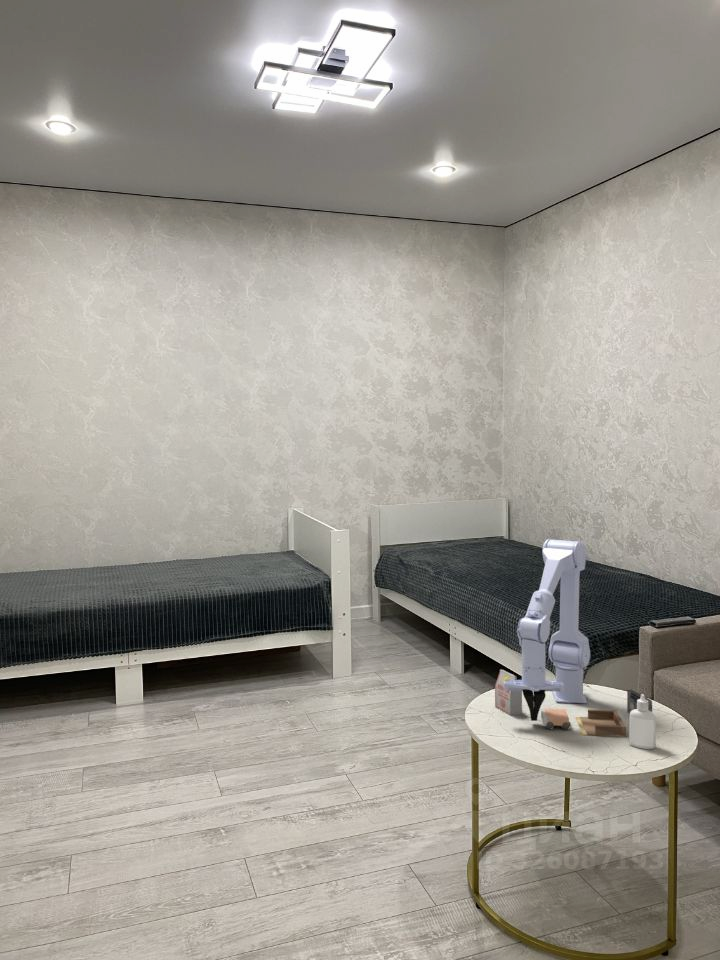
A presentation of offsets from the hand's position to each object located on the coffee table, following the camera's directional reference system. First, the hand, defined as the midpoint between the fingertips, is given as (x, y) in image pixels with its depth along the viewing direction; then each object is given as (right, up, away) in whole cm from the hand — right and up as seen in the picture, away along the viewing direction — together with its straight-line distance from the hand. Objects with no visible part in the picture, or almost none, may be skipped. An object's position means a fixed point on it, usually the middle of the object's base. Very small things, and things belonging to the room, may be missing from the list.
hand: (533, 719), depth 185 cm
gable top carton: (-4, -1, +10) cm, 11 cm away
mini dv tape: (+28, -1, +3) cm, 28 cm away
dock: (+16, -1, -2) cm, 16 cm away
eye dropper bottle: (+22, -2, -13) cm, 26 cm away
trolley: (+5, -1, -1) cm, 6 cm away
